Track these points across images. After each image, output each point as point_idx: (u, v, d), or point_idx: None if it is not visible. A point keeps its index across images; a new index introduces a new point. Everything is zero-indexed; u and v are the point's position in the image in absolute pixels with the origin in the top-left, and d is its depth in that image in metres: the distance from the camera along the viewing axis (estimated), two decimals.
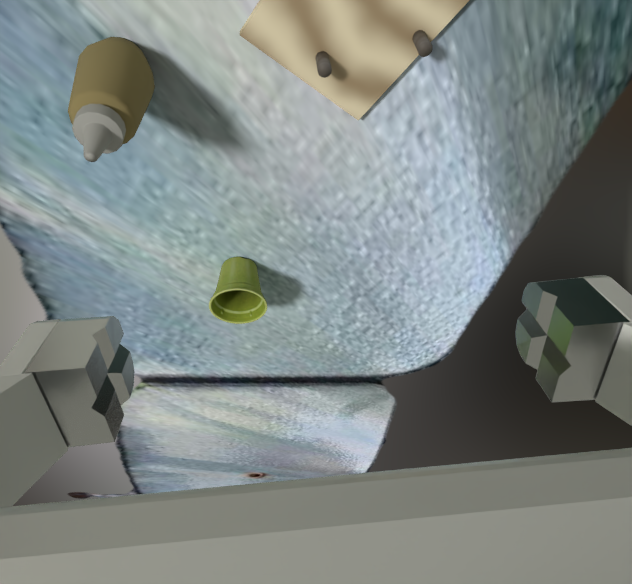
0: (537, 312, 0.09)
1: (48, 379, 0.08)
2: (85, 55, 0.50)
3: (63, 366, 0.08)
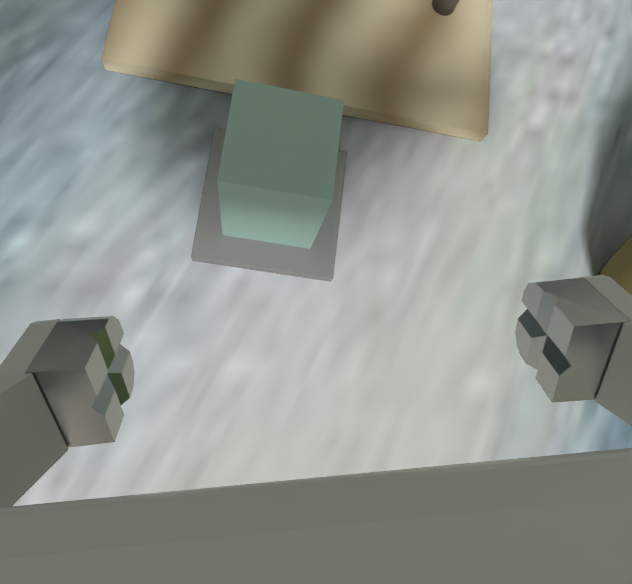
0: (537, 312, 0.09)
1: (48, 379, 0.08)
2: None
3: (63, 366, 0.08)
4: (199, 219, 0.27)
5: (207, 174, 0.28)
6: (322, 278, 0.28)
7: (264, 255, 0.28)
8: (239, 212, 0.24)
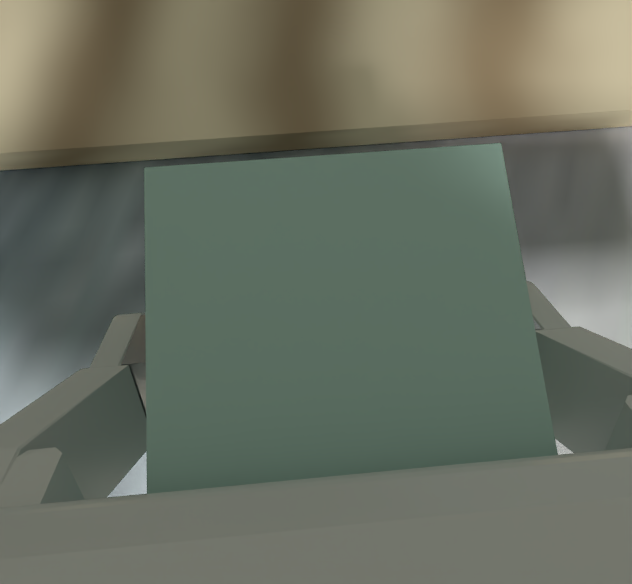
0: None
1: (142, 371, 0.08)
2: None
3: None
4: None
5: None
6: None
7: None
8: None
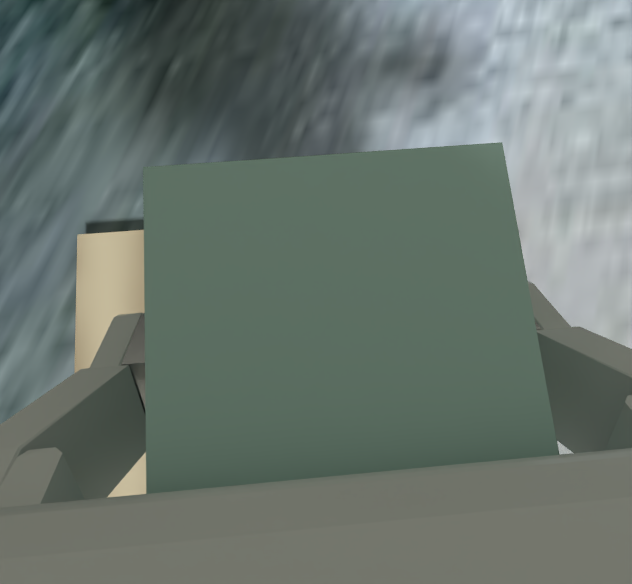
0: None
1: (143, 371, 0.08)
2: None
3: None
4: None
5: None
6: None
7: None
8: None
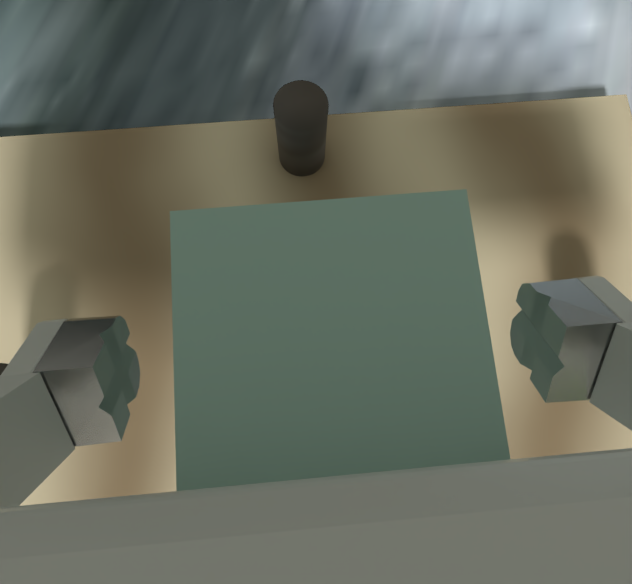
0: (531, 313, 0.09)
1: (56, 378, 0.08)
2: None
3: (71, 365, 0.08)
4: None
5: None
6: None
7: None
8: None
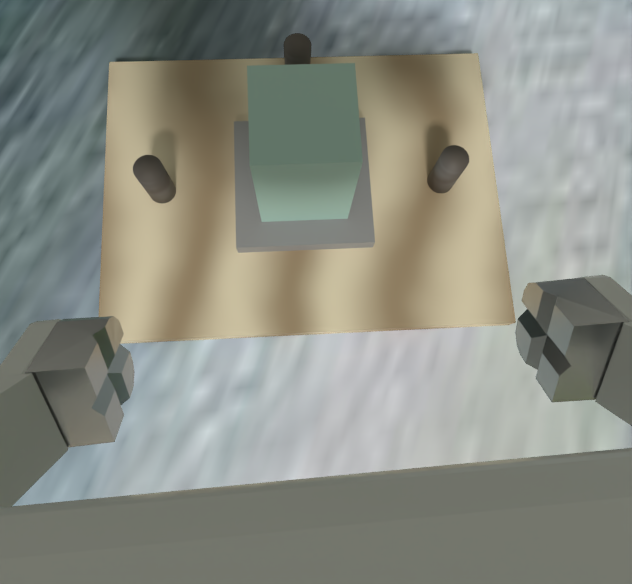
0: (537, 312, 0.09)
1: (48, 379, 0.08)
2: None
3: (63, 366, 0.08)
4: (237, 211, 0.28)
5: (236, 167, 0.29)
6: (364, 245, 0.29)
7: (305, 233, 0.28)
8: (274, 194, 0.25)
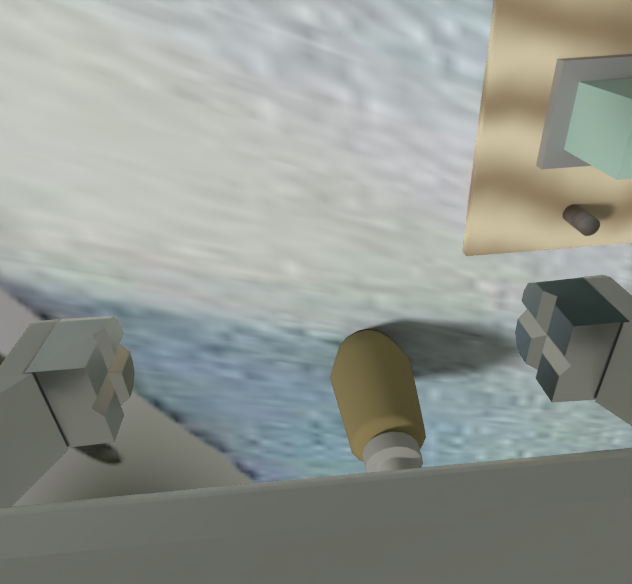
0: (537, 312, 0.09)
1: (48, 379, 0.08)
2: (336, 378, 0.45)
3: (63, 366, 0.08)
4: (593, 60, 0.35)
5: (630, 57, 0.35)
6: (540, 161, 0.40)
7: (560, 117, 0.37)
8: (605, 105, 0.33)
